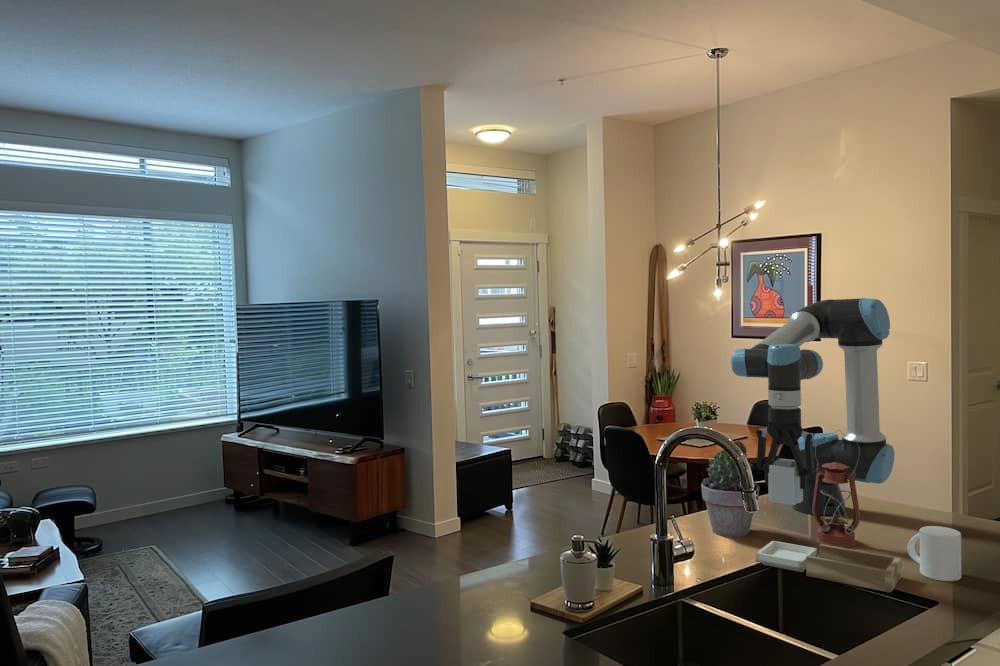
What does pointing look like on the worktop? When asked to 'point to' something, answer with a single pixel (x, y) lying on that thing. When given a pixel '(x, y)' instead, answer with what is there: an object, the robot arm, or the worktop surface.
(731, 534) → the potted plant
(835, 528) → the lantern
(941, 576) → the mug
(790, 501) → the tall pale grey block
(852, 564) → the bay
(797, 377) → the robot arm
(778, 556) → the tray
